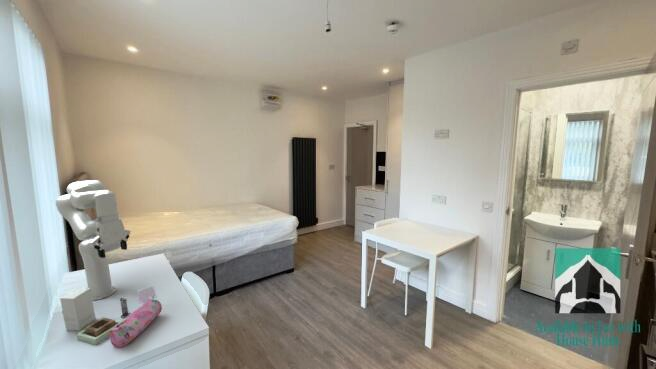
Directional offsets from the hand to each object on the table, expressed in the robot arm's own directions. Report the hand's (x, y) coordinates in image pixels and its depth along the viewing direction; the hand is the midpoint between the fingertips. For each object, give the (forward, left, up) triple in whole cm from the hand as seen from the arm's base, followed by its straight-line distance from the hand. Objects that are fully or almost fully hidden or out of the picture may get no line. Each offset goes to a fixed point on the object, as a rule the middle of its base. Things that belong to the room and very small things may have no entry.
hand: (113, 253), depth 126 cm
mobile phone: (+1, +12, -29) cm, 31 cm away
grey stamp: (+8, -4, -28) cm, 30 cm away
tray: (+10, -15, -28) cm, 34 cm away
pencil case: (+24, -10, -29) cm, 38 cm away
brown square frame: (+10, -15, -28) cm, 33 cm away
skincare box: (-5, -14, -28) cm, 32 cm away
